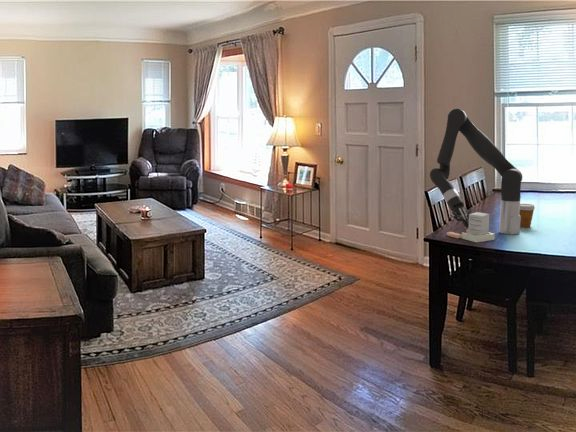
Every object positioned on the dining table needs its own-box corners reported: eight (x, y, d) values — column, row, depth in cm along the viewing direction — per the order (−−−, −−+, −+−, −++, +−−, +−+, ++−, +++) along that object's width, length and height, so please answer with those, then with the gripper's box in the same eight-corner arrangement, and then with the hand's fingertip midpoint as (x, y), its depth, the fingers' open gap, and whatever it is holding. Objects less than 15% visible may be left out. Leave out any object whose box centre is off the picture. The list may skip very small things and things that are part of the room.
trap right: (481, 235, 284) (481, 232, 283) (477, 235, 282) (477, 232, 282) (470, 232, 291) (470, 229, 290) (466, 232, 289) (466, 229, 289)
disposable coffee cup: (536, 226, 302) (537, 204, 300) (529, 229, 296) (531, 207, 293) (518, 224, 309) (520, 202, 307) (511, 226, 302) (513, 205, 300)
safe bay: (494, 239, 273) (494, 233, 273) (476, 242, 268) (476, 236, 268) (479, 235, 282) (479, 229, 282) (461, 238, 277) (461, 232, 277)
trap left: (462, 237, 278) (462, 234, 278) (457, 238, 277) (457, 235, 277) (451, 234, 285) (451, 231, 285) (446, 235, 284) (446, 232, 284)
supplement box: (475, 236, 281) (476, 211, 279) (488, 238, 276) (490, 213, 273) (467, 238, 276) (468, 213, 274) (481, 241, 271) (482, 215, 268)
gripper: (447, 196, 283) (462, 224, 275) (466, 194, 289) (482, 221, 280) (439, 205, 289) (454, 232, 280) (459, 202, 294) (474, 229, 286)
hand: (468, 226), depth 280 cm, fingers closed
